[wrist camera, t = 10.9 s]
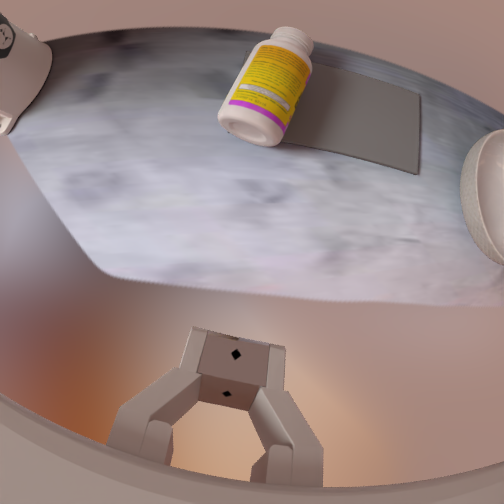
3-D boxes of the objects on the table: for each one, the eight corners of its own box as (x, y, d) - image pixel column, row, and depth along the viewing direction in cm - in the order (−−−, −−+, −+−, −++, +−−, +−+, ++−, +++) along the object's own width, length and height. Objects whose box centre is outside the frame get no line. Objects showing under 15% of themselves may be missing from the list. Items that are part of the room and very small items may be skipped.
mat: (227, 132, 32) (227, 130, 32) (246, 53, 32) (246, 50, 31) (415, 174, 32) (417, 173, 32) (416, 96, 32) (419, 94, 32)
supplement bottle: (291, 146, 27) (335, 47, 27) (229, 109, 24) (285, 11, 24) (259, 151, 33) (300, 64, 33) (206, 123, 30) (256, 34, 30)
